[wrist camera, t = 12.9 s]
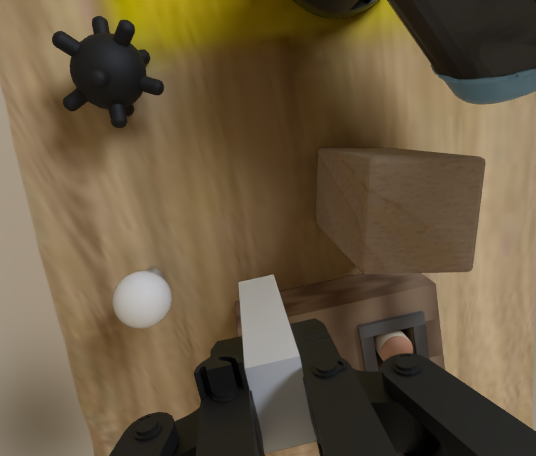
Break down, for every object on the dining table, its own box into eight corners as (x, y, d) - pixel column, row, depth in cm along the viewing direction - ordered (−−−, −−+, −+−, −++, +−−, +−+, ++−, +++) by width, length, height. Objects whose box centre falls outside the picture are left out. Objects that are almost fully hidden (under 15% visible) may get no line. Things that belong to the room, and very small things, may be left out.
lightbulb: (139, 245, 53) (117, 273, 43) (186, 263, 54) (176, 295, 44) (122, 288, 54) (96, 327, 44) (168, 305, 55) (154, 347, 45)
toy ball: (168, 5, 45) (190, 114, 45) (120, 49, 52) (139, 144, 52) (67, -28, 37) (93, 104, 37) (27, 29, 44) (49, 141, 44)
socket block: (256, 391, 60) (261, 433, 51) (235, 301, 56) (236, 331, 48) (418, 353, 61) (449, 388, 52) (407, 263, 57) (438, 285, 49)
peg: (365, 303, 58) (388, 332, 49) (391, 311, 58) (418, 341, 50) (354, 329, 58) (375, 362, 50) (380, 336, 59) (405, 370, 51)
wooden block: (388, 224, 56) (474, 273, 36) (314, 225, 55) (362, 276, 36) (394, 147, 54) (488, 157, 34) (317, 147, 53) (369, 156, 33)
